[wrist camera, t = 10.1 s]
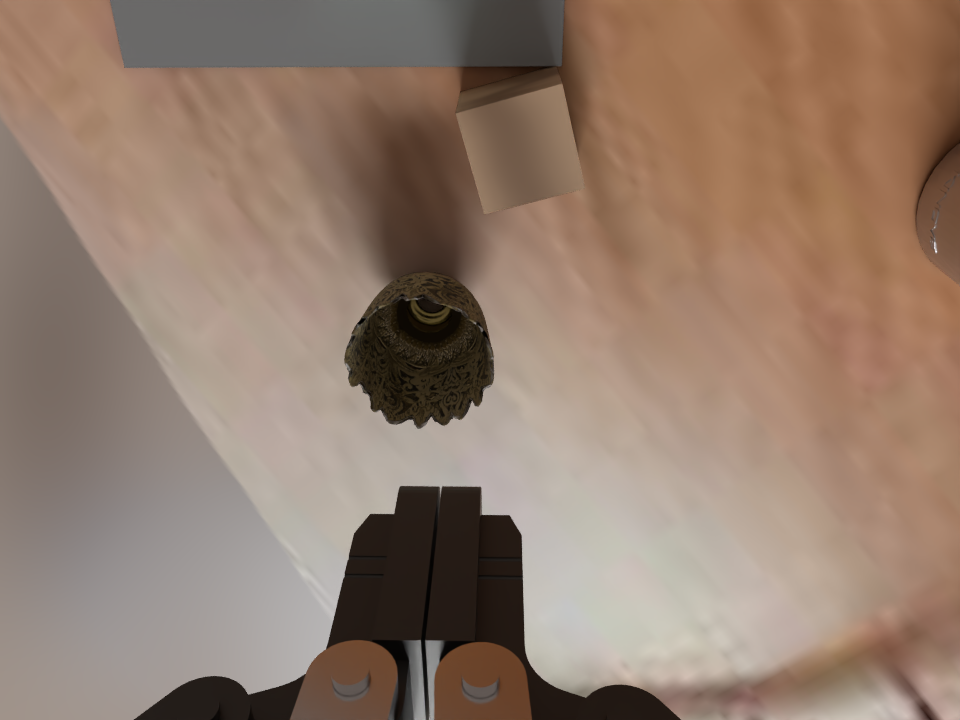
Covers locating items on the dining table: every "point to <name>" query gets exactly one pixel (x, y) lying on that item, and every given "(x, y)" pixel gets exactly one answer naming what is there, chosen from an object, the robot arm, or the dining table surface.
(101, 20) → the dining table surface
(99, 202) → the dining table surface
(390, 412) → the filigree lamp shade
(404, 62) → the mat
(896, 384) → the dining table surface
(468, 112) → the walnut cube
